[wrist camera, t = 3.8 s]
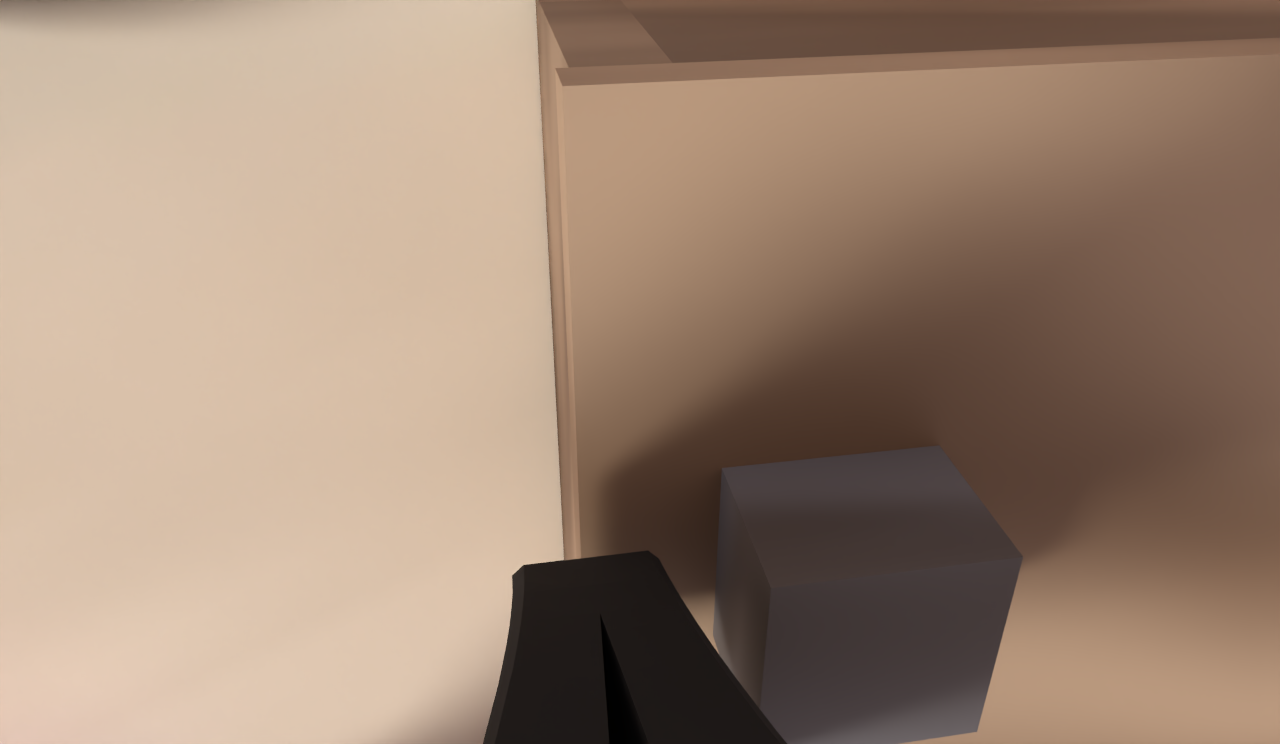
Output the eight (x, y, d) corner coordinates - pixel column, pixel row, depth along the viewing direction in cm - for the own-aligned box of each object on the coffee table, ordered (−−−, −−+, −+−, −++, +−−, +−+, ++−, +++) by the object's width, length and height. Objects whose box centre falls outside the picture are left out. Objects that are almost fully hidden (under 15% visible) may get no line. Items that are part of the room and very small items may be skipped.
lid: (1250, 718, 15) (1374, 862, 13) (587, 822, 14) (612, 1001, 12) (1579, 24, 10) (1869, 87, 8) (554, 67, 8) (590, 158, 6)
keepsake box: (1076, 519, 19) (1229, 696, 15) (565, 580, 18) (598, 793, 14) (1237, -28, 14) (1525, 39, 10) (535, -8, 13) (575, 82, 9)
